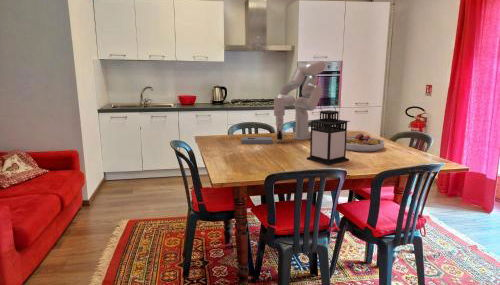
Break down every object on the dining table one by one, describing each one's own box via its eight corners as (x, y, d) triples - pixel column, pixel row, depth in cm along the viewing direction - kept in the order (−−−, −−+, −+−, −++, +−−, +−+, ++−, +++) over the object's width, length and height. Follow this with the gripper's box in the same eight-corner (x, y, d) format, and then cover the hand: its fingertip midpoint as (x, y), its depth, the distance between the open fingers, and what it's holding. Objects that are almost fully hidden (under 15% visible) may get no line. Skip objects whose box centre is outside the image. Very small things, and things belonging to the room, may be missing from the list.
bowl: (387, 153, 230) (388, 141, 229) (338, 152, 236) (339, 140, 235) (380, 144, 259) (381, 133, 257) (337, 142, 265) (337, 132, 263)
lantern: (348, 160, 213) (351, 100, 206) (328, 165, 203) (331, 102, 196) (326, 155, 227) (328, 98, 220) (306, 159, 217) (308, 100, 210)
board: (271, 141, 271) (271, 137, 271) (272, 144, 261) (272, 139, 260) (242, 141, 272) (242, 137, 271) (241, 144, 261) (241, 139, 261)
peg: (282, 141, 268) (282, 127, 266) (282, 142, 264) (282, 128, 262) (276, 141, 268) (276, 128, 266) (276, 142, 264) (276, 129, 262)
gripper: (285, 115, 253) (285, 140, 257) (283, 111, 270) (283, 136, 274) (274, 115, 254) (274, 140, 257) (273, 112, 270) (273, 136, 274)
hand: (279, 138), depth 265 cm, fingers closed on peg, 4 cm apart
